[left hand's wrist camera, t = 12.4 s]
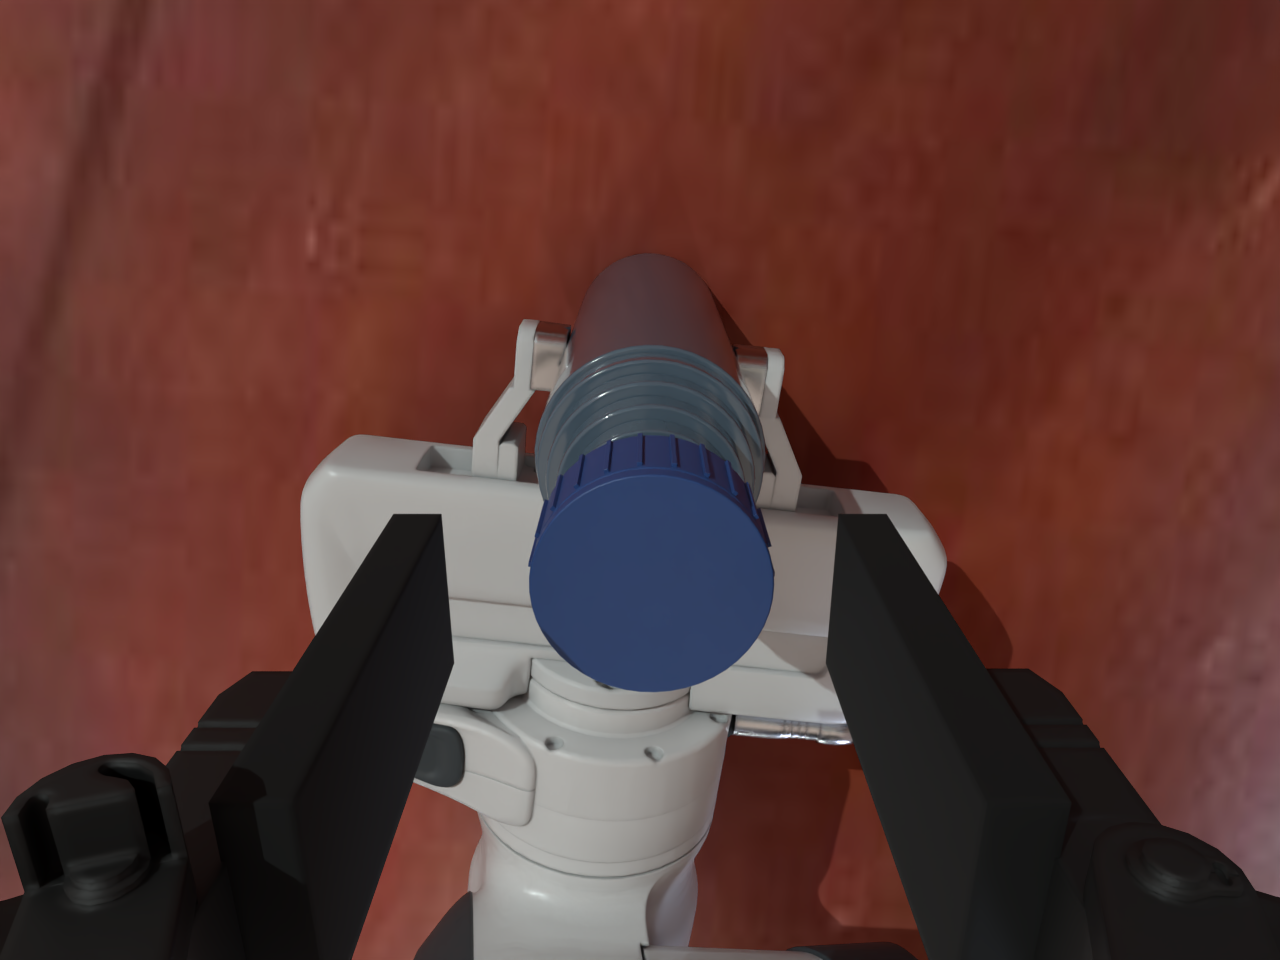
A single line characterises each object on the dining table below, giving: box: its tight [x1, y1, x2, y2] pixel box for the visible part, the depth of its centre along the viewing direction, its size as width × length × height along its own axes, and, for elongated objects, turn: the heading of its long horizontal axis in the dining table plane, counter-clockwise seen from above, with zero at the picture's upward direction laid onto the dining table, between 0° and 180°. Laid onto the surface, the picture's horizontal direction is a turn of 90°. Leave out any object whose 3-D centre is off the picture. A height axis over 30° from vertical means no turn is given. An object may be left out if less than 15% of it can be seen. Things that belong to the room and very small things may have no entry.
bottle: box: [535, 253, 766, 505], centre depth 24 cm, size 5×5×20 cm
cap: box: [528, 433, 775, 692], centre depth 15 cm, size 4×4×2 cm
